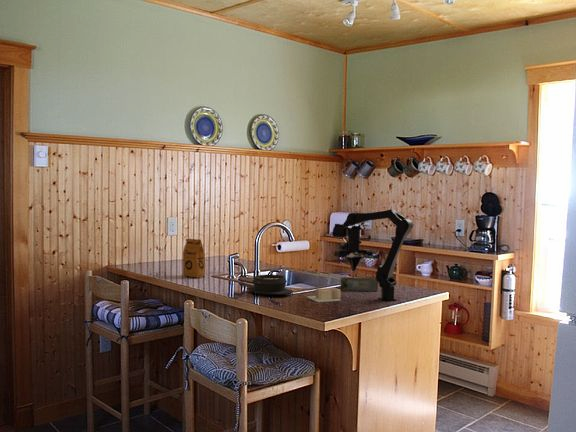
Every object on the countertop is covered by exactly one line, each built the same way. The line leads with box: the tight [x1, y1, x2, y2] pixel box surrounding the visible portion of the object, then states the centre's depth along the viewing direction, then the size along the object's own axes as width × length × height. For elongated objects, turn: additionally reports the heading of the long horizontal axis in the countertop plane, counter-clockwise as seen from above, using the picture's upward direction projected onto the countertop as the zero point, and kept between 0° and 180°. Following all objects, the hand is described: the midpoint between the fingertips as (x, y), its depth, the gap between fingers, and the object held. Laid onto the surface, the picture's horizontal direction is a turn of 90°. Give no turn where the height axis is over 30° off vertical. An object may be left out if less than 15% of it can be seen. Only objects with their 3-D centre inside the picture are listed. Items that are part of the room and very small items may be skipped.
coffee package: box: [182, 238, 206, 278], centre depth 317 cm, size 10×12×22 cm
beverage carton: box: [339, 276, 379, 292], centre depth 285 cm, size 8×19×7 cm, turn 86°
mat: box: [306, 295, 342, 303], centre depth 259 cm, size 12×12×1 cm
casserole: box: [245, 274, 294, 297], centre depth 270 cm, size 25×19×8 cm
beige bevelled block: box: [315, 287, 342, 300], centre depth 259 cm, size 6×4×10 cm
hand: (353, 270), depth 267 cm, fingers closed
